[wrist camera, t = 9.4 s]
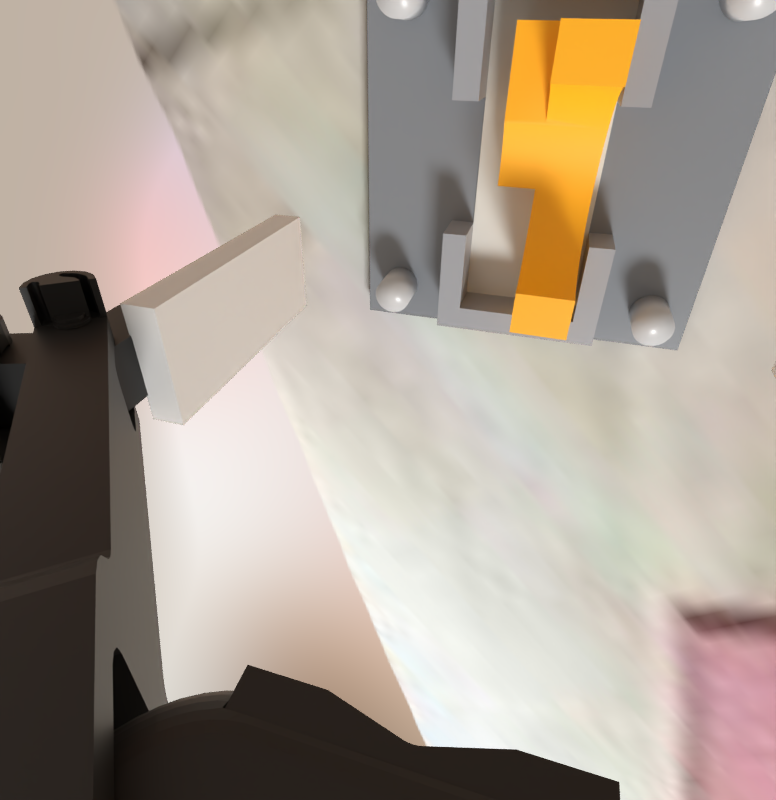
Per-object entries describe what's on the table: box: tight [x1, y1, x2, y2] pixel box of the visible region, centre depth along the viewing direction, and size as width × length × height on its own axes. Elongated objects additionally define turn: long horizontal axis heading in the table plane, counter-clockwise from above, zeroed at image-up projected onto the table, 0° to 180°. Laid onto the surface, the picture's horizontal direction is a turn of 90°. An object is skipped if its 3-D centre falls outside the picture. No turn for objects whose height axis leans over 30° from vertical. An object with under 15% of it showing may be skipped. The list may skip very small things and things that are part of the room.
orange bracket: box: [498, 18, 641, 340], centre depth 24 cm, size 12×4×6 cm, turn 179°
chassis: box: [367, 0, 776, 350], centre depth 26 cm, size 18×18×4 cm
